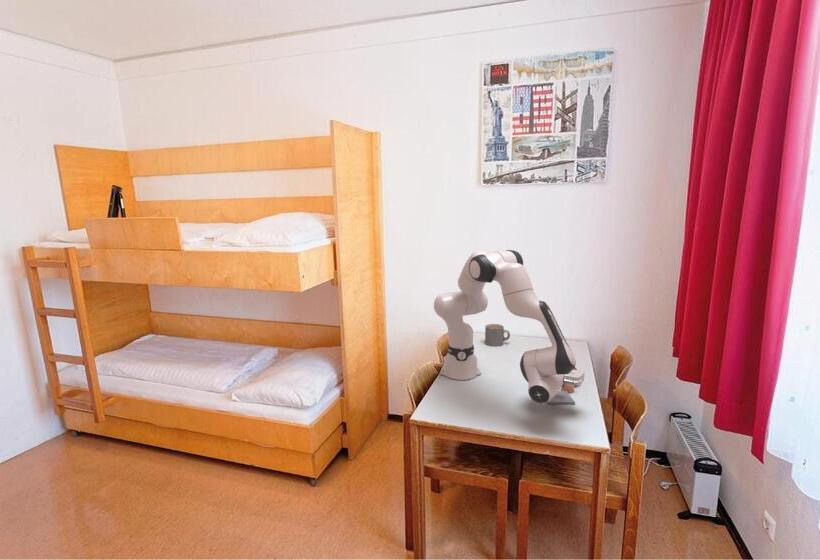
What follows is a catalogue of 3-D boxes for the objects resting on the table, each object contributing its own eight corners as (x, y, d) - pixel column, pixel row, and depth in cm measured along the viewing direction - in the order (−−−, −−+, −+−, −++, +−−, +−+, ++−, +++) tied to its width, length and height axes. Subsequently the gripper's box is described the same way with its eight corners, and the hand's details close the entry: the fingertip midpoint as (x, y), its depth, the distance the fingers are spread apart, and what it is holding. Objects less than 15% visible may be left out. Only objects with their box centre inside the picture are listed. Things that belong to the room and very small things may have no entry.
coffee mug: (483, 345, 237) (483, 328, 235) (487, 340, 246) (487, 323, 244) (508, 348, 232) (508, 330, 230) (510, 342, 241) (511, 325, 239)
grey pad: (542, 393, 178) (542, 391, 178) (566, 393, 178) (566, 391, 177) (549, 404, 168) (549, 402, 168) (574, 404, 168) (575, 402, 168)
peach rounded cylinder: (559, 388, 183) (560, 377, 182) (571, 387, 183) (571, 376, 182) (563, 393, 178) (564, 382, 177) (575, 393, 178) (576, 381, 177)
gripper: (581, 376, 153) (588, 364, 165) (524, 365, 164) (535, 354, 176) (580, 392, 154) (587, 379, 166) (524, 381, 165) (535, 369, 177)
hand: (560, 366), depth 171 cm, fingers closed on walnut block, 4 cm apart
